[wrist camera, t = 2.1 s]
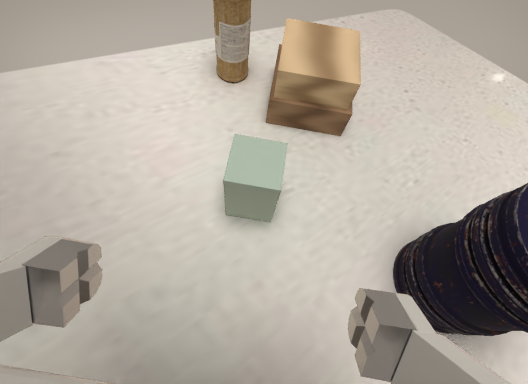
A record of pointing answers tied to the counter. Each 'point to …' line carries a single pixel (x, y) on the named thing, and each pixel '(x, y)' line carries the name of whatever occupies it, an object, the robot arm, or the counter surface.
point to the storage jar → (472, 269)
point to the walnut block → (305, 113)
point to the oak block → (319, 65)
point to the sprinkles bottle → (232, 38)
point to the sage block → (254, 177)
